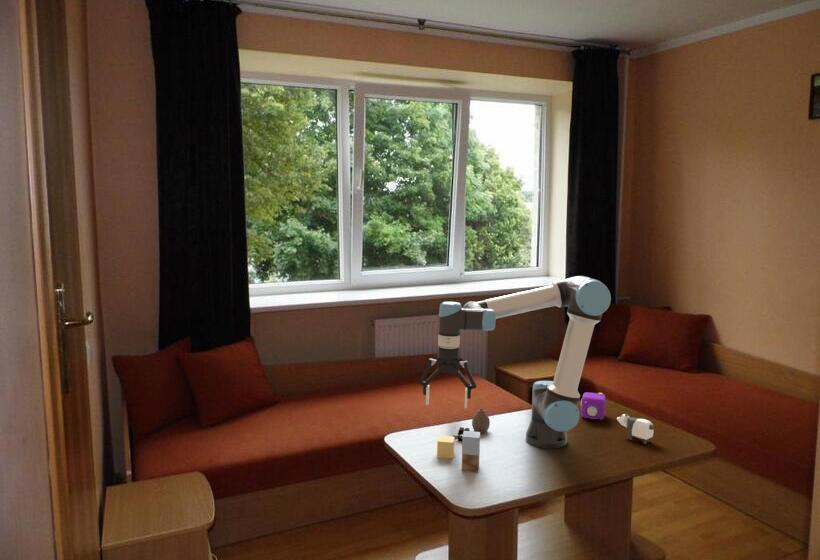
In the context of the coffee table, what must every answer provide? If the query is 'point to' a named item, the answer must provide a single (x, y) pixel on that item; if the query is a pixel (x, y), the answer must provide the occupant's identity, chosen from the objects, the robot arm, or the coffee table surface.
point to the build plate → (461, 431)
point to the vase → (480, 421)
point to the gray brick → (471, 443)
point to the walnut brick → (470, 462)
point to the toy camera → (593, 405)
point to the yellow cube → (445, 446)
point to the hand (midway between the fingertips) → (446, 405)
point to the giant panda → (637, 427)
